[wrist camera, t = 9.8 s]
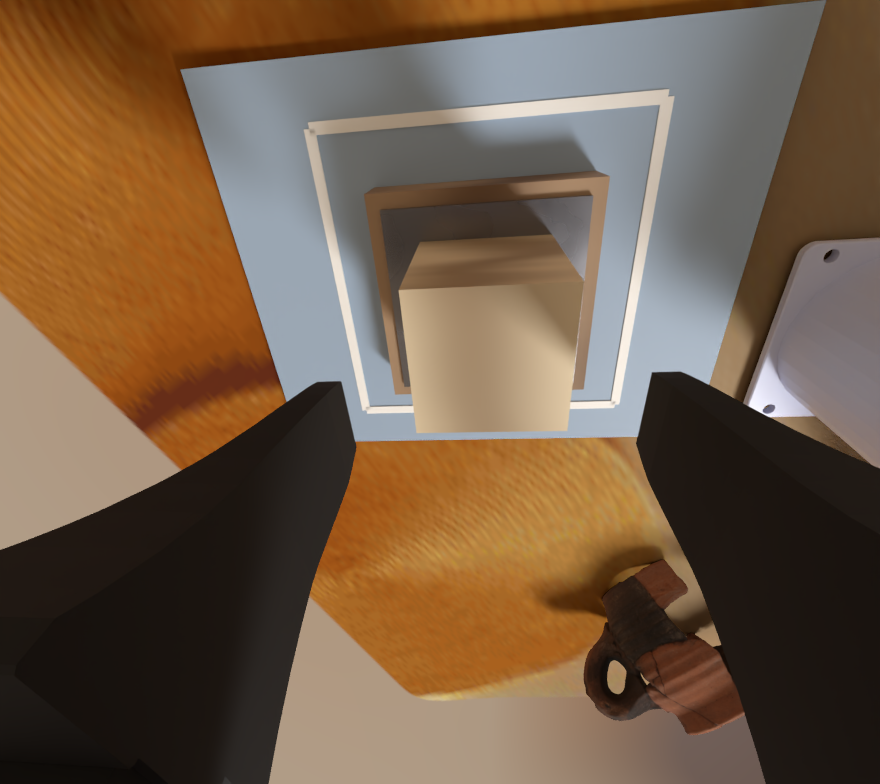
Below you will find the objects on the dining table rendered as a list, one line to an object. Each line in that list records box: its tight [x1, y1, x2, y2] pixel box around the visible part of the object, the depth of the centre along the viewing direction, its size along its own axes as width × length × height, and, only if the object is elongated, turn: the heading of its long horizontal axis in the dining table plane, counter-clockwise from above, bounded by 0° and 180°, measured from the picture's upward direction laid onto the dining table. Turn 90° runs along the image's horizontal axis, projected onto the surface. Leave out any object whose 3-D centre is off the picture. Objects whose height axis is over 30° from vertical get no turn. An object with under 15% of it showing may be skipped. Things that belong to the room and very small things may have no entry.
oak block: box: [399, 234, 584, 433], centre depth 14 cm, size 4×4×5 cm
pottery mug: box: [584, 560, 745, 735], centre depth 28 cm, size 12×10×8 cm
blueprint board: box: [180, 0, 826, 441], centre depth 17 cm, size 20×16×3 cm
